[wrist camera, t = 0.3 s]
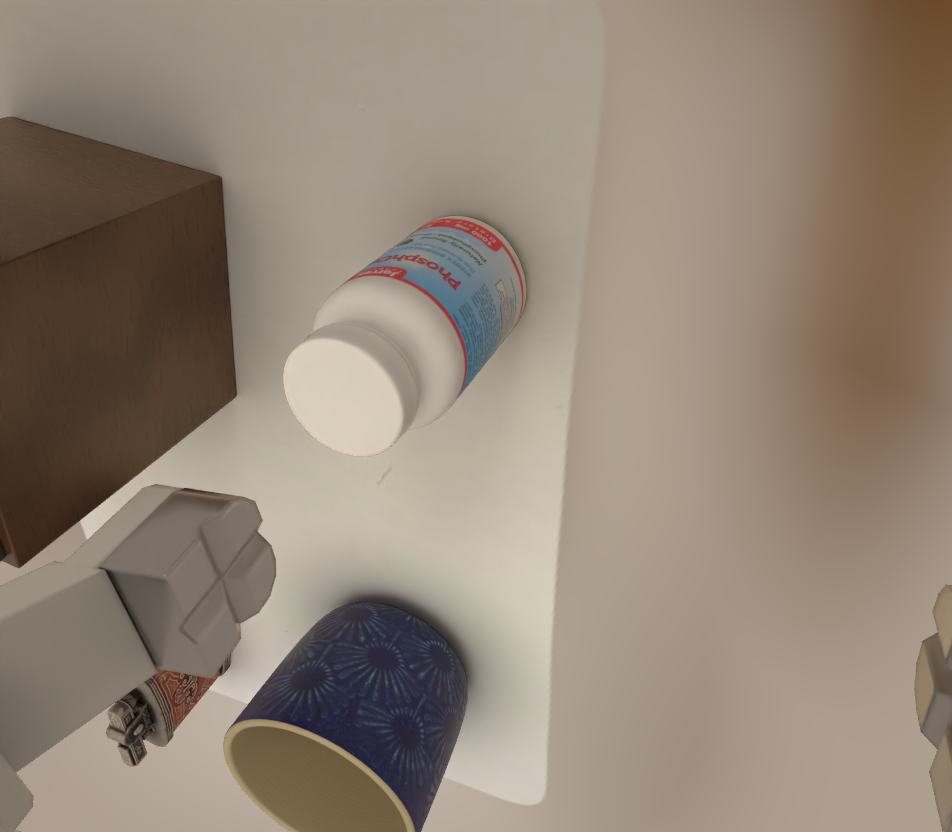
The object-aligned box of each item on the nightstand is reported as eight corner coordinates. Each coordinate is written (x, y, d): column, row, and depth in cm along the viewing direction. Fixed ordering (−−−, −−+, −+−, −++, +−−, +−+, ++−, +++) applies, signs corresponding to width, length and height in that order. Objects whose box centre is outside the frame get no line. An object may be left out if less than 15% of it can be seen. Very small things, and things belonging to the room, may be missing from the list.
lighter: (184, 592, 56) (82, 698, 48) (221, 606, 55) (123, 716, 47) (201, 659, 61) (110, 766, 53) (235, 673, 60) (148, 784, 52)
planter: (450, 738, 53) (381, 891, 45) (305, 650, 54) (210, 783, 46) (513, 650, 45) (444, 814, 37) (343, 549, 47) (237, 687, 38)
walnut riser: (10, 116, 38) (-347, 193, 26) (221, 176, 35) (-74, 294, 24) (59, 332, 46) (-201, 468, 34) (236, 397, 43) (19, 569, 31)
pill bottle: (511, 200, 31) (389, 305, 22) (543, 333, 33) (446, 475, 24) (389, 224, 33) (236, 326, 24) (427, 345, 36) (302, 476, 27)
